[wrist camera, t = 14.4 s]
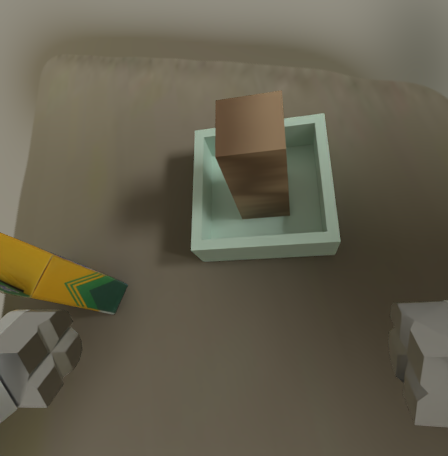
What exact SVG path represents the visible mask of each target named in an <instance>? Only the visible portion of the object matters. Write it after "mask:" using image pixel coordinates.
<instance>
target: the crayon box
mask: <svg viewBox="0 0 448 456" xmlns="http://www.w3.org/2000/svg"><path fill="white" fill-rule="evenodd" d="M127 287H128V285H127V284H126V283H124V282H121V281H119V280H117V279H114V278H112V277H110V276H108V275H105V274H103V273H100V272H98V271H96V270H93V269H91V268H88V267H86V266H83V265H81V264H78V263H76V262H73V261H71V260H68V259H66V258H63V257H61V256H58V255H56V254H53V253H50V252H48V251H45V250H43V249H40V248H38V247H35V246H33V245H30V244H28V243H25V242H23V241H20V240H18V239H15V238H13V237H10V236H8V235H5V234H3V233H0V292H1V293H4V294H10V295H15V296H21V297H27V298H34V299H39V300H44V301H49V302H54V303H59V304H64V305H69V306H74V307H79V308H84V309H89V310H94V311H98V312H103V313H108V314H113V315H114V314H115V312H116V310H117V308H118V306H119V303H120V301H121V299H122V297H123V295H124V292H125V290H126V288H127Z"/></svg>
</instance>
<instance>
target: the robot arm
mask: <svg viewBox="0 0 448 456" xmlns="http://www.w3.org/2000/svg"><path fill="white" fill-rule="evenodd" d="M390 318H391V321H392V323H393V325H394V328H393V329H392V330H391V331H390V332H389V336H388V347H389V356H390V360H391V364H392V367H393V370H394V373H395V376H396V377H397V378H398V379H400V380H401V381H402V382H403V383H404V387H403V397H404V399H405V402H406V404H407V407H408V410H409V412H410V415H411V417H412V420H413V422H414V425H422V426H435V427H448V300H443V301H425V302H393V303H392V306H391V310H390ZM72 323H73V320H72V318H71V316H70V314H69V312H68V311H65V310H62V309H31V310H14V311H10V312H8V313H7V314H6V315H5V316H4V317H2V318H1V319H0V423H1V422H2V421H4V420H5V419H6V418H7V417H9V416H10V415H11V414H12V413H14V412H15V411H16V410H17V407H25V408H48V406H49V405H50V403H51V402H52V400H53V399H54V397H55V396H56V395H57V393H58V392H59V390H60V389H61V387H62V386H63V377H64V376H66V375H67V374H68V373H70V372H71V371H73V370H74V368H75V367H76V365H77V364H78V362H79V361H80V357H81V353H82V341H81V339H80V336H79V334H78V333H77V332H76V331H74V330H73V329H72V328H71V326H72Z"/></svg>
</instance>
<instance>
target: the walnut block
mask: <svg viewBox="0 0 448 456" xmlns="http://www.w3.org/2000/svg"><path fill="white" fill-rule="evenodd" d="M215 158H216V160H217V162H218V165H219V167H220V169H221V171H222V174H223V176H224V178H225V181H226V183H227V185H228V188H229V190H230V192H231V194H232V197H233V199H234V201H235V204H236V206H237V208H238V210H239V213H240V215H241V217H242V219H253V218H266V217H279V216H290V206H289V189H288V172H287V155H286V140H285V127H284V114H283V101H282V91H275V92H269V93H262V94H255V95H249V96H242V97H236V98H229V99H222V100H216V123H215Z"/></svg>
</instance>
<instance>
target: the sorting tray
mask: <svg viewBox="0 0 448 456" xmlns="http://www.w3.org/2000/svg"><path fill="white" fill-rule="evenodd" d="M284 127H285V140H286V155H287V172H288V189H289V206H290V216H279V217H266V218H253V219H242V217H241V215H240V213H239V210H238V208H237V206H236V204H235V201H234V199H233V197H232V194H231V192H230V190H229V188H228V185H227V183H226V181H225V178H224V176H223V174H222V171H221V169H220V167H219V165H218V162H217V160H216V158H215V128H211V129H204V130H197V131H195V146H194V175H193V204H192V232H191V251H192V252H193V253H194V254H195V255H196V256H197V257H199V258H200V259H201V260H202V261H203V262H211V261H230V260H248V259H267V258H286V257H305V256H324V255H335V254H336V252H337V249H338V247H339V244H340V242H341V240H340V232H339V225H338V217H337V209H336V201H335V193H334V186H333V178H332V170H331V162H330V155H329V147H328V139H327V131H326V124H325V116H324V113H322V114H315V115H307V116H300V117H293V118H285V119H284Z"/></svg>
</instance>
